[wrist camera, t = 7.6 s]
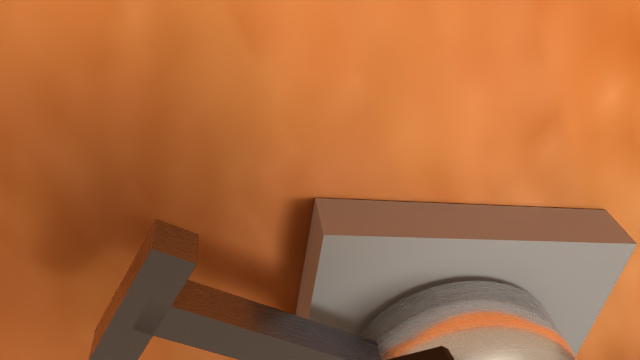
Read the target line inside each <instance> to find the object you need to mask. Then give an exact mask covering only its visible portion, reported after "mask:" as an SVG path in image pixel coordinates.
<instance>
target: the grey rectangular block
mask: <svg viewBox="0 0 640 360" xmlns="http://www.w3.org/2000/svg"><path fill="white" fill-rule="evenodd" d="M636 245H637V243H636V242H635V241H634V240H633V239H632V238H631V237H630V236H629V235H628V234H627V232H626V231H625V230H624V229H623V228H622V227H621V226H620V225H619V224H618V223H617V222H616V220H615V219H614V218H613V217H612V216H611V215H610V214H609V213H608V212H607V211H606V210H597V209H573V208H548V207H524V206H500V205H475V204H451V203H426V202H402V201H377V200H353V199H328V198H315V202H314V208H313V214H312V220H311V226H310V232H309V237H308V243H307V249H306V255H305V261H304V267H303V273H302V279H301V284H300V290H299V296H298V302H297V308H296V314H295V315H297V316H300V317H303V318H306V319H309V320H312V321H315V322H318V323H321V324H324V325H327V326H330V327H333V328H337V329H340V330H343V331H346V332H349V333H352V334H355V335H358V334H359V333H360V332H361V330H362V329H363V328H364V327H365V326H366V325H367V324H368V323H369V322H370V321H371V320H373V319H374V318H375V317H376V316H377V315H379V314H380V313H381V312H383V311H384V310H386V309H387V308H388V307H390V306H391V305H393V304H395V303H397V302H399V301H400V300H402V299H404V298H406V297H408V296H411V295H413V294H415V293H418V292H420V291H423V290H426V289H429V288H432V287H435V286H439V285H444V284H448V283H454V282H462V281H493V282H499V283H504V284H508V285H511V286H514V287H517V288H520V289H522V290H524V291H526V292H528V293H529V294H531V295H532V296H534V297H535V298H536V299H538V301H539V302H540V303H541V304H542V305H543V306H544V307H545V309H546V310H547V312H548V314H549V315H550V317H551V318H552V320H553V321H554V323H555V325H556V326H557V328H558V329H559V331H560V333H561V334H562V336H563V337H564V339H565V341H566V342H567V344H568V345H569V347H570V348H571V350H572V352H573V353H574V355H575V356H576V355H577V353H578V351H579V349H580V347H581V346H582V344H583V342H584V340H585V338H586V336H587V335H588V333H589V331H590V329H591V327H592V325H593V324H594V322H595V320H596V318H597V316H598V315H599V313H600V311H601V309H602V307H603V305H604V304H605V302H606V300H607V298H608V296H609V294H610V293H611V291H612V289H613V287H614V285H615V283H616V282H617V280H618V278H619V276H620V274H621V272H622V271H623V269H624V267H625V265H626V263H627V262H628V260H629V258H630V256H631V254H632V252H633V251H634V249H635V247H636Z"/></svg>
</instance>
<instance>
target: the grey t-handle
mask: <svg viewBox="0 0 640 360" xmlns="http://www.w3.org/2000/svg"><path fill="white" fill-rule="evenodd" d="M197 252H198V234H195V233H192V232H189V231H187V230H184V229H181V228H178V227H175V226H173V225H170V224H167V223H164V222H162V221H159V220H156V221H155V222H154V224H153V226H152V228H151V230H150V232H149V233H148V235H147V237H146V239H145V241H144V242H143V244H142V246H141V248H140V250H139V251H138V253H137V255H136V257H135V259H134V260H133V262H132V264H131V266H130V268H129V269H128V271H127V273H126V275H125V277H124V279H123V280H122V282H121V284H120V286H119V288H118V289H117V291H116V293H115V295H114V297H113V298H112V300H111V302H110V304H109V306H108V307H107V309H106V311H105V313H104V315H103V317H102V318H101V320H100V322H99V324H98V326H97V327H96V330H95V334H94V339H93V343H92V347H91V352H90V356H89V360H138V359H139V357H140V355H141V354H142V352H143V351H144V349H145V347H146V346H147V344H148V342H149V341H150V339H151V338H152V336H157V337H160V338H164V339H167V340H171V341H174V342H178V343H182V344H185V345H189V346H192V347H196V348H199V349H203V350H207V351H210V352H214V353H217V354H221V355H224V356H228V357H232V358H235V359H239V360H387V359H391V358H395V357H399V356H403V355H407V354H411V353H415V352H419V351H423V350H427V349H431V348H435V347H439V346H443V347H446V348H448V349H449V351H450V353H451V355H452V356H453V358H454V360H577V358H576V356H575V355H574V353H573V352H572V350H571V348H570V347H569V345H568V344H567V342H566V341H565V339H564V337H563V336H562V334H561V333H560V331H559V329H558V328H557V326H556V325H555V323H554V321H553V320H552V318H551V317H550V315H549V314H548V312H547V310H546V309H545V307H544V306H543V305H542V304H541V303H540V302H539V301H538V299H536V298H535V297H534V296H532V295H531V294H529V293H528V292H526V291H524V290H522V289H520V288H517V287H514V286H511V285H508V284H504V283H499V282H493V281H462V282H454V283H448V284H444V285H439V286H435V287H432V288H429V289H426V290H423V291H420V292H418V293H415V294H413V295H411V296H408V297H406V298H404V299H402V300H400V301H399V302H397V303H395V304H393V305H391V306H390V307H388V308H387V309H386V310H384V311H383V312H381V313H380V314H379V315H377V316H376V317H375V318H374V319H373V320H371V321H370V322H369V323H368V324H367V325H366V326H365V327H364V328H363V329H362V330H361V332H360V333H359V334H358V335H355V334H352V333H349V332H346V331H343V330H340V329H337V328H333V327H330V326H327V325H324V324H321V323H318V322H315V321H312V320H309V319H306V318H303V317H300V316H297V315H294V314H291V313H287V312H284V311H281V310H278V309H275V308H272V307H269V306H266V305H263V304H260V303H257V302H254V301H251V300H248V299H245V298H242V297H238V296H235V295H232V294H229V293H226V292H223V291H220V290H217V289H214V288H211V287H208V286H205V285H202V284H199V283H196V282H193V281H189V280H187V279H188V278H189V276H190V274H191V273H192V271H193V270H194V268H195V266H196V265H197Z"/></svg>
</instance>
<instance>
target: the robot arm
mask: <svg viewBox="0 0 640 360" xmlns="http://www.w3.org/2000/svg"><path fill="white" fill-rule="evenodd" d="M387 360H454V358H453V356H452V355H451V353H450V351H449V349H448V348H446V347H443V346H439V347H435V348H431V349H427V350H423V351H419V352H415V353H411V354H407V355H403V356H399V357H395V358H391V359H387Z"/></svg>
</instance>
